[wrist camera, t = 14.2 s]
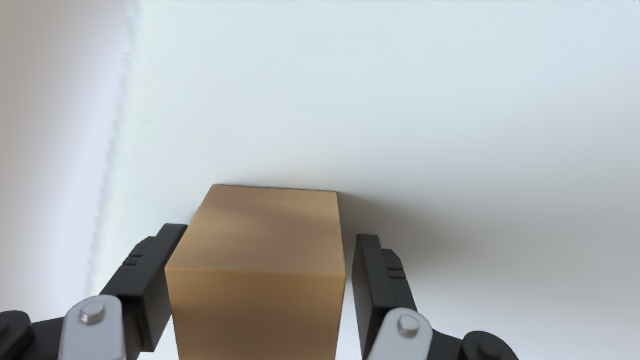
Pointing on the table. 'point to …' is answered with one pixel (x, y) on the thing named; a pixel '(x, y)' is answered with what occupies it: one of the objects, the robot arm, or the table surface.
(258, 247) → the block
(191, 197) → the table surface
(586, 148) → the table surface
